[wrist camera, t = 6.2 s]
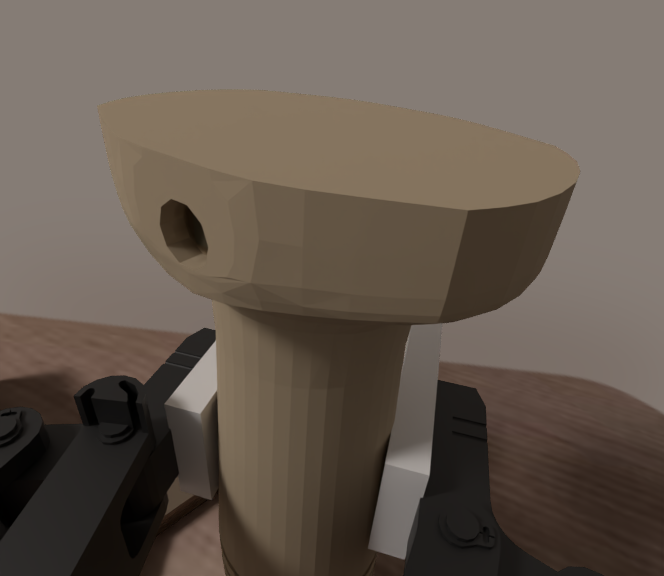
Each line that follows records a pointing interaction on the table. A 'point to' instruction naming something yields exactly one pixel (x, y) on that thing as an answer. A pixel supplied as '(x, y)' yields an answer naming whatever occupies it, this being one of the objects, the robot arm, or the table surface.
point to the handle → (324, 282)
